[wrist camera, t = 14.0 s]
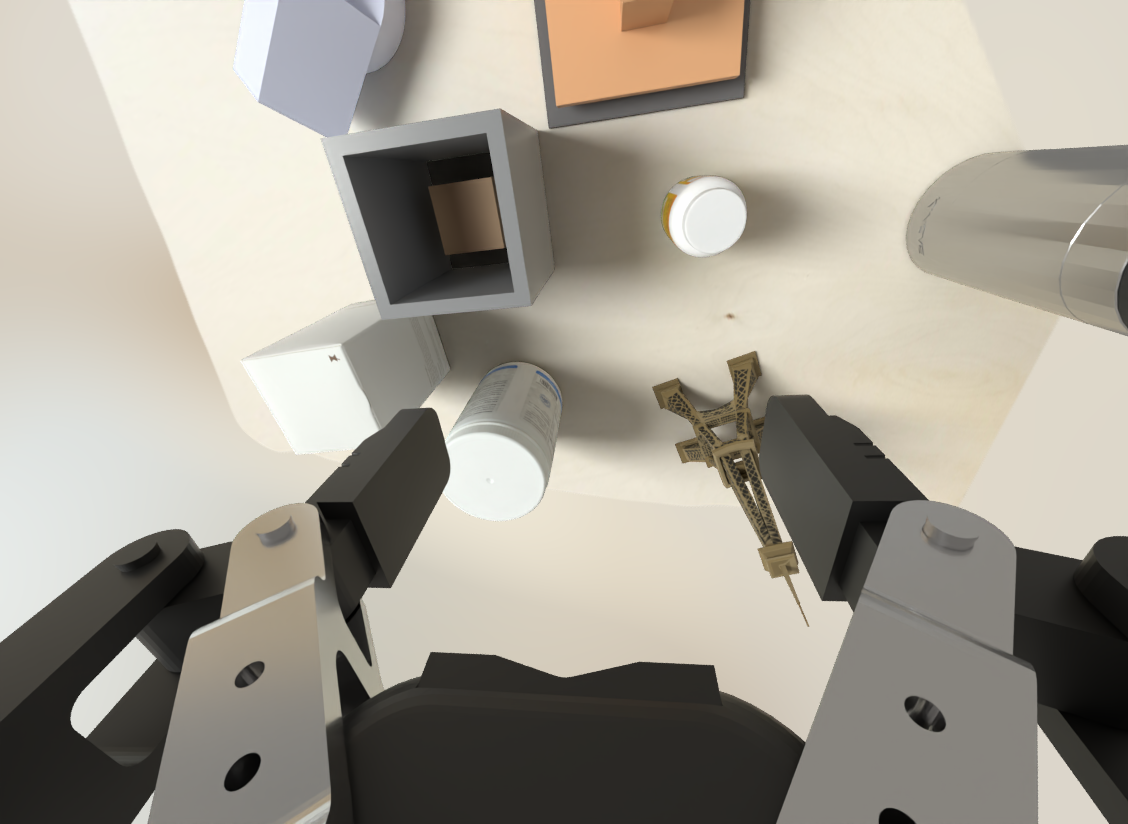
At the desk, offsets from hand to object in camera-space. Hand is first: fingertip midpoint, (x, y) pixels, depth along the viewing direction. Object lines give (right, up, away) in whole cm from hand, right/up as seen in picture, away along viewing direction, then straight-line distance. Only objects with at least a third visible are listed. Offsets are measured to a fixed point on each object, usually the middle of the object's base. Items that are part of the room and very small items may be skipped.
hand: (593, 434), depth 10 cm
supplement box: (-18, +9, +35) cm, 40 cm away
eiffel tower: (+16, +1, +35) cm, 39 cm away
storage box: (-8, +19, +27) cm, 34 cm away
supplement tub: (-5, +2, +37) cm, 37 cm away
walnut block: (-8, +19, +28) cm, 34 cm away
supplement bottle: (+10, +18, +26) cm, 33 cm away
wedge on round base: (-18, +30, +22) cm, 42 cm away
